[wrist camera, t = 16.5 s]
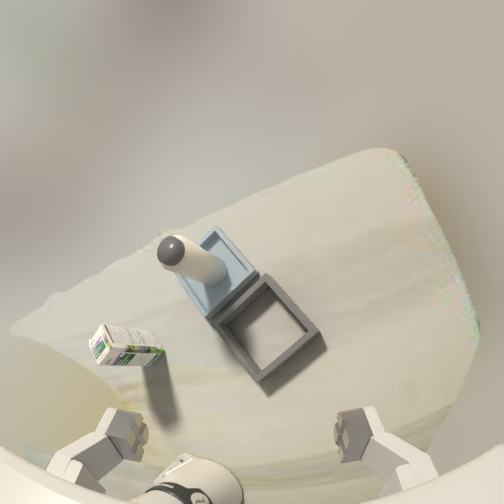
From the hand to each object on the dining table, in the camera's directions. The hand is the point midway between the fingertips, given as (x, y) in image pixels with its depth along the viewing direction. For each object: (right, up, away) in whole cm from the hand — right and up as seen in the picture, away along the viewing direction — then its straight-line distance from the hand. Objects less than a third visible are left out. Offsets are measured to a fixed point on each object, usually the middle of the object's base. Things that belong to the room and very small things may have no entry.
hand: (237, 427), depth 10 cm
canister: (-7, +3, +44) cm, 45 cm away
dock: (+3, -6, +38) cm, 38 cm away
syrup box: (-21, -14, +46) cm, 52 cm away
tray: (-6, +3, +45) cm, 45 cm away
